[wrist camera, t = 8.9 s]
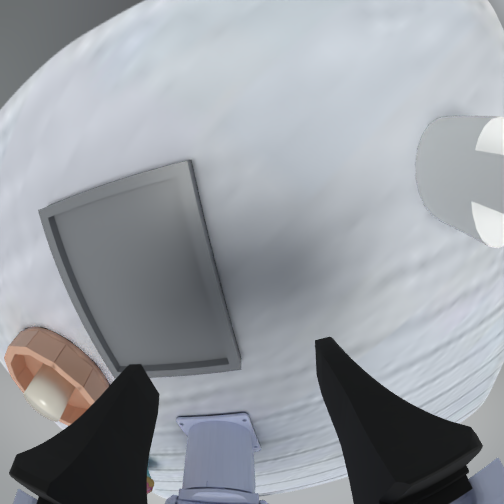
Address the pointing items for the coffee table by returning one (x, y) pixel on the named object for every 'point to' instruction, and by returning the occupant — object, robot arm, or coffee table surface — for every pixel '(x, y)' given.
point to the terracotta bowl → (56, 367)
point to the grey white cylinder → (464, 175)
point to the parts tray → (144, 274)
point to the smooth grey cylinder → (49, 393)
